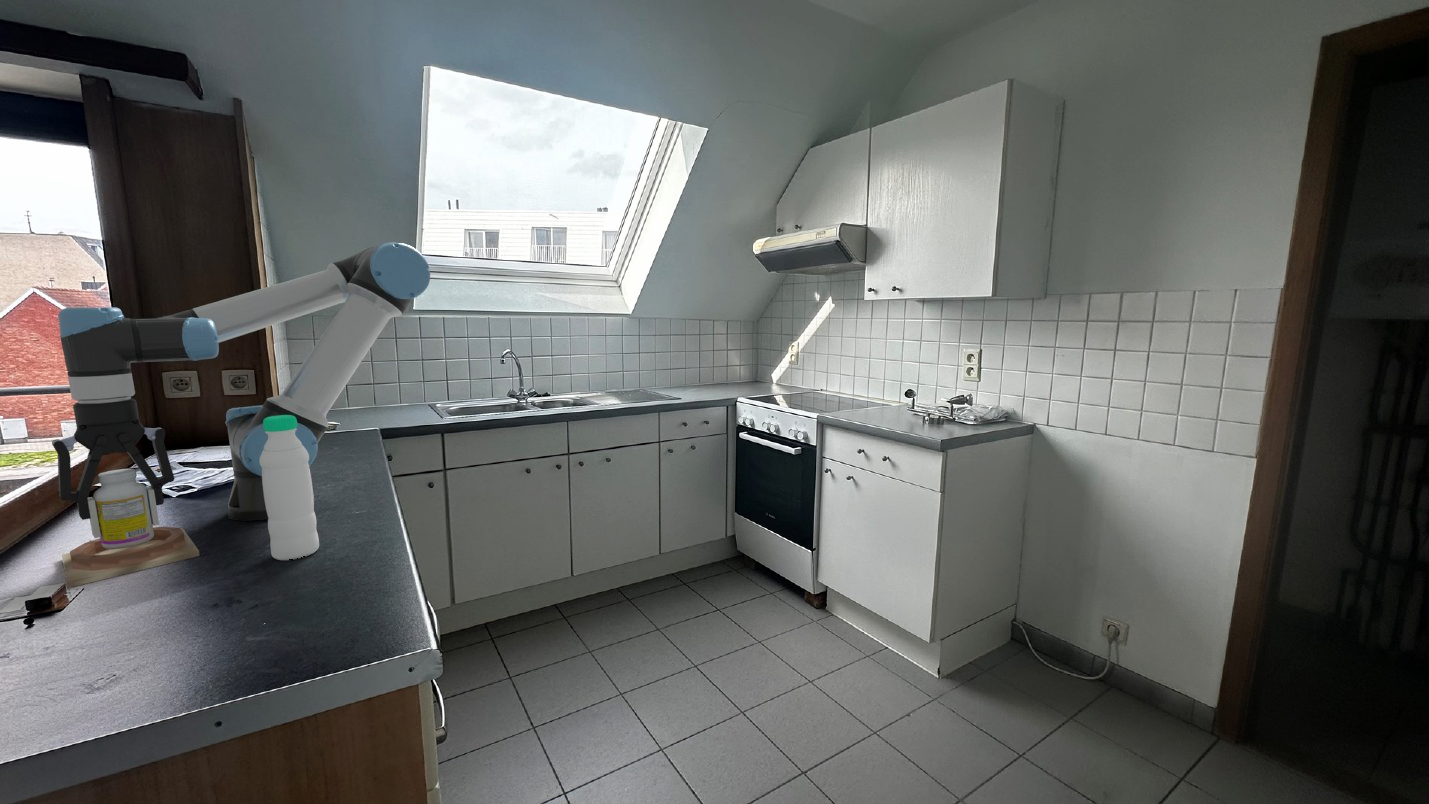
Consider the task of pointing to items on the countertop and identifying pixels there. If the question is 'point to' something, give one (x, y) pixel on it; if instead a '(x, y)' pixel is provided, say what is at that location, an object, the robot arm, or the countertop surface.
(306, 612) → the countertop surface
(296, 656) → the countertop surface
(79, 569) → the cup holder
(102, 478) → the supplement bottle
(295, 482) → the water bottle
